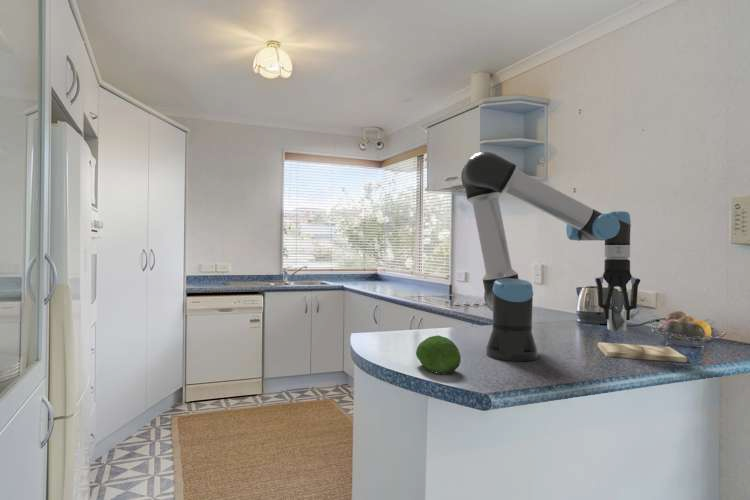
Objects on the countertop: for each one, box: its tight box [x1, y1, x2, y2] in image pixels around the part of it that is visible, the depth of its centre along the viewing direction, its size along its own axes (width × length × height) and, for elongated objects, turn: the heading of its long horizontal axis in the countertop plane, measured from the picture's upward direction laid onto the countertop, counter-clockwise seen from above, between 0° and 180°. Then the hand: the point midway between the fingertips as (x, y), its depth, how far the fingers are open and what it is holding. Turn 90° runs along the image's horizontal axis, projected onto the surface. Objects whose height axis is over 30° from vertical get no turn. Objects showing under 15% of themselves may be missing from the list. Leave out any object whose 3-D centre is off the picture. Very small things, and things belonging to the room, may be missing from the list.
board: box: [597, 341, 688, 363], centre depth 153 cm, size 22×16×2 cm
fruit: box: [415, 335, 462, 374], centre depth 126 cm, size 15×10×10 cm, turn 22°
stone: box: [609, 302, 625, 334], centre depth 155 cm, size 11×4×10 cm, turn 164°
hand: (616, 329), depth 155 cm, fingers closed on stone, 4 cm apart
